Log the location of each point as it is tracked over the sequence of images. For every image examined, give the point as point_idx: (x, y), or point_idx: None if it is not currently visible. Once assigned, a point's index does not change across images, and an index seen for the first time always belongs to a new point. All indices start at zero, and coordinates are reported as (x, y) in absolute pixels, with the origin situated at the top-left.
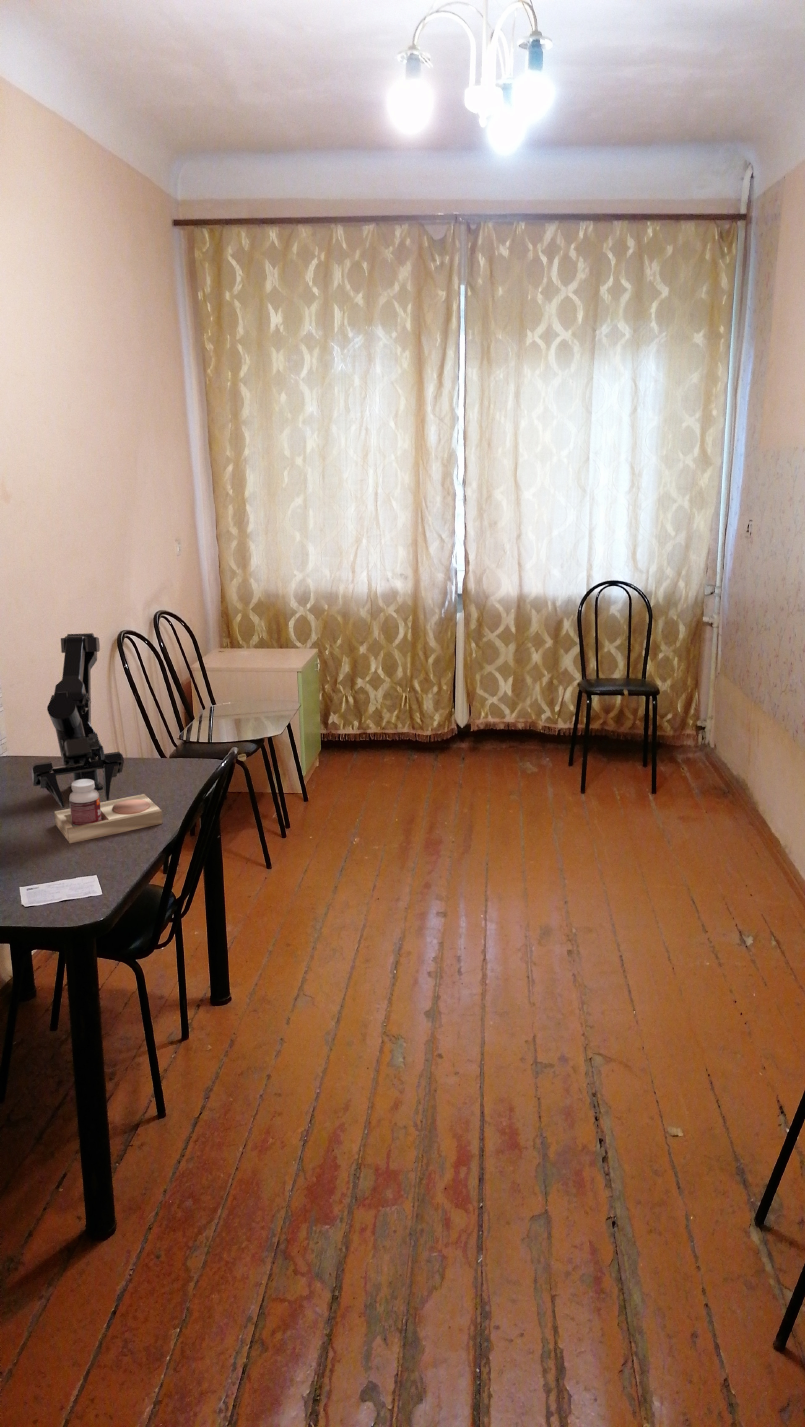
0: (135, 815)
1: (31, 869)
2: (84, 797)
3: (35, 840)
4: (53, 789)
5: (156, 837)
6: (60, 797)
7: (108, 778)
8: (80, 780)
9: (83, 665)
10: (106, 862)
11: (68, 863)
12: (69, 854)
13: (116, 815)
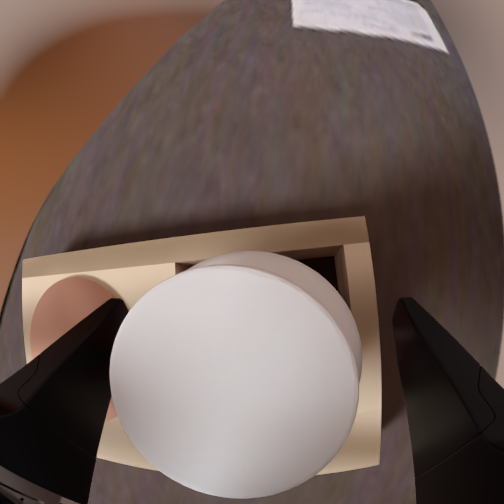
0: (83, 256)
1: (447, 108)
2: (259, 258)
3: (452, 317)
4: (496, 383)
5: (94, 170)
6: (435, 333)
7: (23, 381)
8: (235, 473)
9: None
10: (260, 63)
11: (360, 92)
12: (358, 144)
13: (138, 295)
